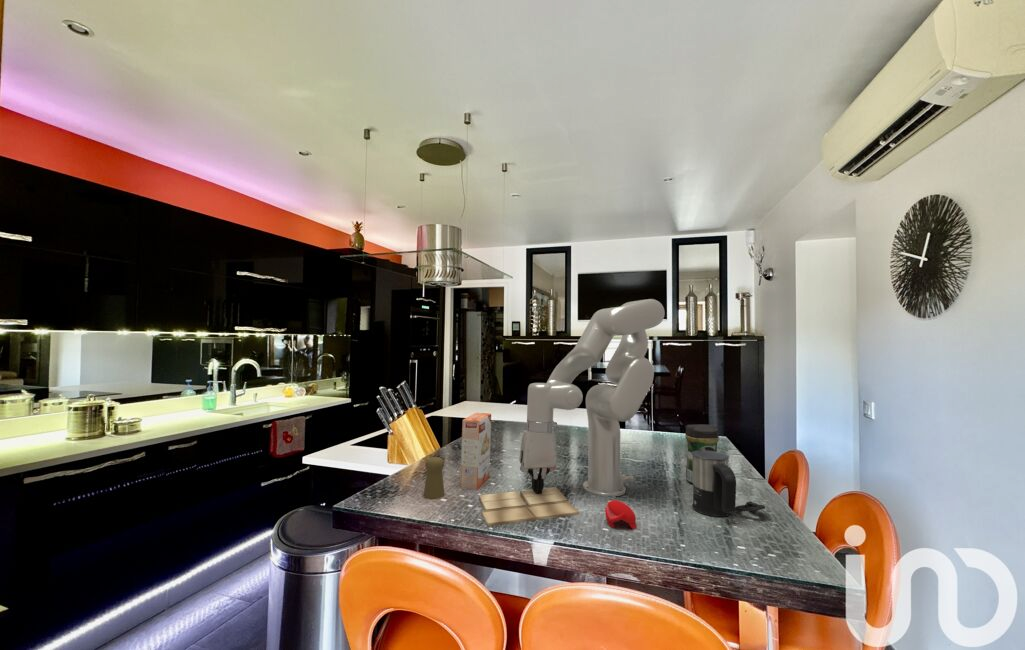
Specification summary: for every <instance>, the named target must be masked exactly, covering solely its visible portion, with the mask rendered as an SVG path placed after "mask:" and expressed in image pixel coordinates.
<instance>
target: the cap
mask: <svg viewBox="0 0 1025 650" xmlns="http://www.w3.org/2000/svg"><path fill="white" fill-rule="evenodd" d="M604 512H605V518H606V520H607V523H608V525H609V527H610V528H613V529H614V528H615V525H614V523H615V522H616V523H617V522H619V521H620V522H621V520H622V521H624V522H625V523H628V524H629V527H630V528H631V529H632V530H636V529H637V523H636V520H637V516H636V514H635V512H634V511H633V509H632V508H631V507H630V506H629V505H628V504H626V503H624V502H623V501H620V500H615V499H613V500H610V501H609V502H607V504H606V506H605V508H604Z"/></svg>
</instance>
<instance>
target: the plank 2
mask: <svg viewBox="0 0 1025 650" xmlns="http://www.w3.org/2000/svg"><path fill="white" fill-rule="evenodd" d="M519 495H520V496H521V498H522V499H523V500H524V502H525V503H526V505H527V506H530V505H539V504H547V503H556V502H564V501H568V502H569V500H568V499H567V498H566V496H564V494H563V493H562V492H561V491H560V490H559V489H558V488H557V486H551V487H544V488H543V489H542V493H538V494H536V493H535V492H534V491H533V489H532V488H531V489H525V490H520V491H519Z"/></svg>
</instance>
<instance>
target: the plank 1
mask: <svg viewBox="0 0 1025 650" xmlns="http://www.w3.org/2000/svg"><path fill="white" fill-rule="evenodd" d="M478 501H479V502H480V504H481V506H482V507H483V509H484V511H487V510H495V509H504V508H513V507H521V506H527V503H526V502H525V501H524V499H523V498H522V497H521V495H520V492H518V491H509V492H498V493H487V494H479V495H478Z"/></svg>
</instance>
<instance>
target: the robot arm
mask: <svg viewBox="0 0 1025 650" xmlns="http://www.w3.org/2000/svg"><path fill="white" fill-rule="evenodd" d="M665 314H666V312H665V308H664V306H663V304H662V303H661V302H660V301H658V300H656V299H654V298H648V299H639V300H634V301H628V302H625V303H623V304H622V305H620V306H616V307H609V308H602V309H599V310H597V311H596V312H594V313H593V315H592V317H591V318H590V320H589V322H588V324H587V325H586V327H585V329H584V330H583V333H582V334H581V336H580V338H579V339H578V341H577V343H576V344H575V346H574V347H573V349H571V351H569V352H568V353H567V354H566V356H564V358H562V359H561V361H560V362H559V363H558V364H557V365H556V366H555V368H554V369H553V371H552V372H551V374H550V375H549V378H548V379H547V381H546V382H533V383H530V384H529V385H528V387H527V402H526V403H527V404H526V405H527V408H526V409H527V410H526V429H525V430H524V429H523V432H522V435H521V439H520V440H521V441H520V447H519V448H520V449H519V464H520V467H519V471H521V472H522V473H525V474H529V475H530V476H531V490H532V489H533V491H534V492H535V493H536V494H538V493H542V489H543V488H545V487H544V485H545V484H544V483H545V482H544V481H545V479H546V476H547V475H548V474H549V473H550V472H553V471H556V470H557V463H558V449H557V439H556V437H557V436H556V433H555V431H554V428H557V427H558V423H557V422H556V421H554V409H559V410H566V411H571V410H572V411H573V410H575V409H577V408H579V407H580V405H581V404H582V402H583V400H584V399H583V397H584V395H583V392H582V390H581V389H580V387H578V386H577V385H575V384H573V381H574V380H575V379H576V377H578V376H579V374H581V373H582V372H584V371H586V370H587V369H590V368H592V367H593V366H595V365H597V364H598V363H600V362H601V360H602V358H603V356H604V355H605V352H606V351H607V349H608V347H609V345H610V343H611V342H612V339H613V337H619V336H621V338H620V339H621V340H620V342H619V343H618V345H617V347H616V349H615V351H614V353H613V354H612V357H611V358H610V360H609V362H608V363H607V366H606V368H605V378H606V379H607V380H608V382H610V383H611V384H613V385H610V384H606V383H605V384H602V383H600V384H596V385H593V386H592V387H590V389H589V390H588V391H587V393H586V396H585V408H586V414H587V423H588V426H587V427H588V429H587V430H588V437H587V438H588V445H587V446H588V449H587V450H588V453H587V454H588V455H587V456H588V458H587V464H588V465H587V472H588V473H587V478H588V479H587V480H585V481H584V482H583V484H582V488H583V490H584V491H587V492H588V493H590V494H594V495H598V496H602V497H603V496H605V497H606V496H607V497H616V496H617V497H621V496H623V495H625V494H626V486H625V485H626V483H634V482H635V477H634V475H627V476H626V474H625V473H623V474H621V427H620V422H627V421H630V420H631V419H632V418H634V416H635V415H636V414H637V413H638V410H640V407H641V406H642V404H643V401H644V400H645V398H646V396H647V394H648V393H649V390H650V388H651V387H652V384H653V381H654V377H655V376H654V375H655V370H654V366H653V364H652V363H651V361H650V360H649V359H648V358H646V357H645V356H646V353H647V352H648V348H649V339H648V335H647V332H646V330H649V329H653V328H655V327H657V326H658V325H660V324H661V323H662V322H663V321H664V318H665ZM615 385H616V386H615Z"/></svg>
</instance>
